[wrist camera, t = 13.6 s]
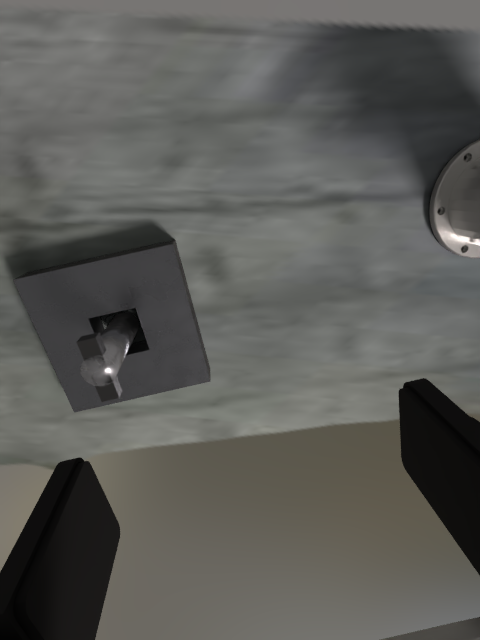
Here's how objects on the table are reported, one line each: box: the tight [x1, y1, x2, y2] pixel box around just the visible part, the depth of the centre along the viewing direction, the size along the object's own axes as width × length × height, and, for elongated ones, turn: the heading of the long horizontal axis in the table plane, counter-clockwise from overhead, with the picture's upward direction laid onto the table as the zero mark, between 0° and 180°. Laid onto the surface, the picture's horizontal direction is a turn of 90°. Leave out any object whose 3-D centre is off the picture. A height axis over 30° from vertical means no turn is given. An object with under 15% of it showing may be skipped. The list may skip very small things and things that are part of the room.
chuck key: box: [77, 312, 139, 402], centre depth 35 cm, size 3×6×11 cm, turn 12°
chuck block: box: [13, 240, 210, 412], centre depth 39 cm, size 16×16×3 cm
